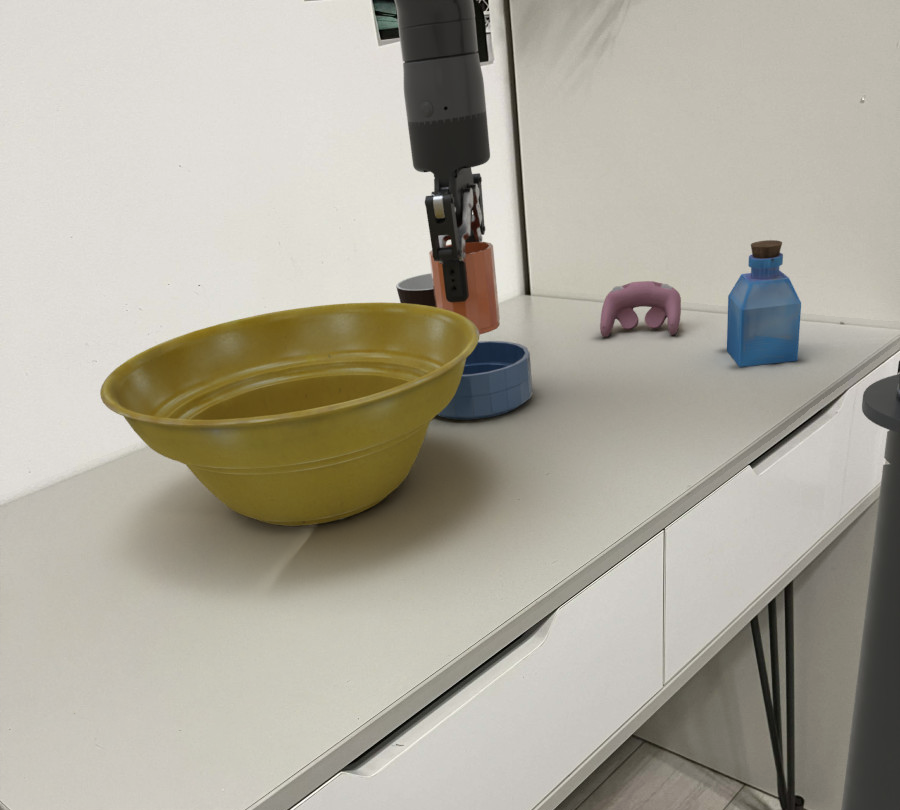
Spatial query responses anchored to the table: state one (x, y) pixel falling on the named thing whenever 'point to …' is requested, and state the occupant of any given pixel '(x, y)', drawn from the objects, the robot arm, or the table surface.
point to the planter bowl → (298, 403)
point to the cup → (472, 287)
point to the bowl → (492, 381)
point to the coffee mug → (417, 290)
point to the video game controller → (637, 295)
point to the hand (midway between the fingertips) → (465, 291)
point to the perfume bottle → (763, 311)
